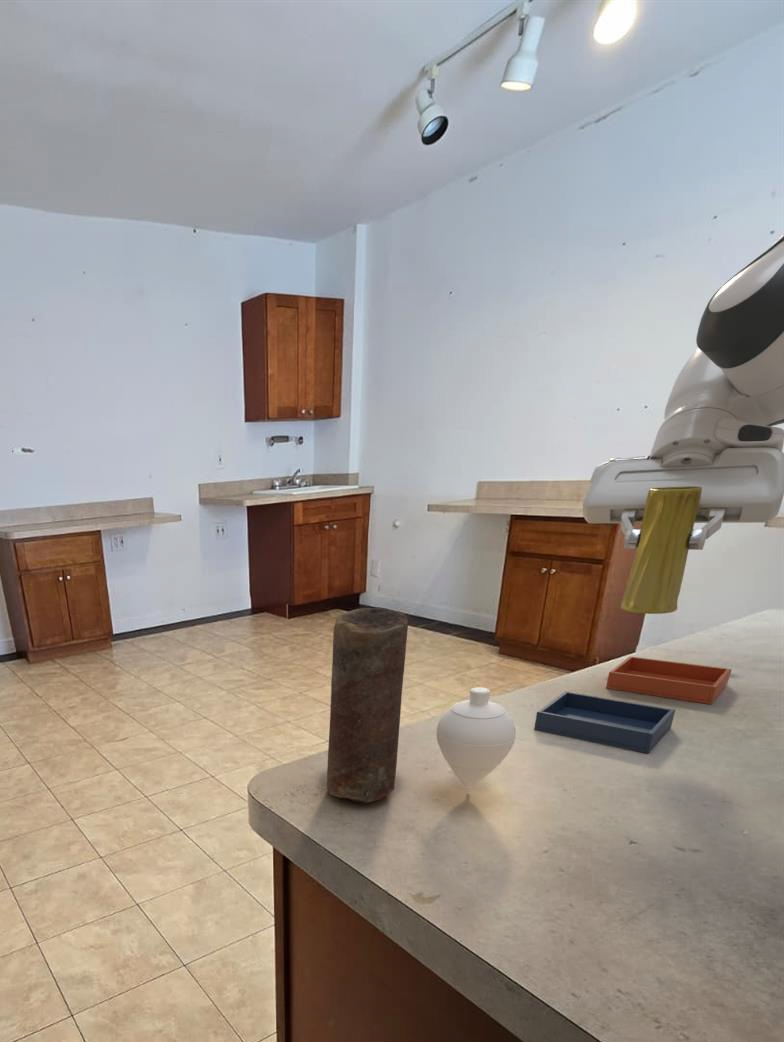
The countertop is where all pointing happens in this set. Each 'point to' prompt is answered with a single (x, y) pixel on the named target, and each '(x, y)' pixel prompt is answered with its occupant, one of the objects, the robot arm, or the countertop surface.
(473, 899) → the countertop surface
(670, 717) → the blue tray
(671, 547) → the vase
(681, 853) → the countertop surface
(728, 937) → the countertop surface
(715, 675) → the terracotta tray
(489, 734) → the spinning top
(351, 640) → the candle
